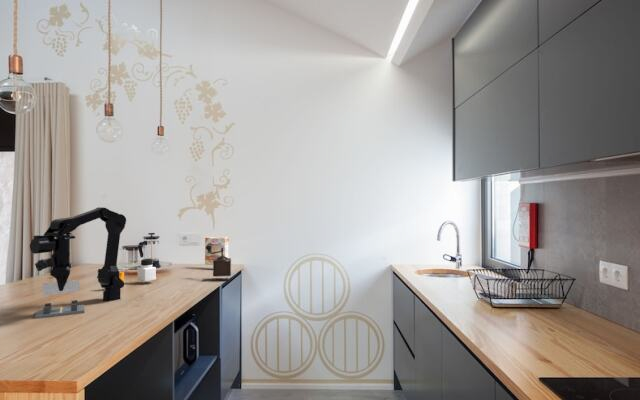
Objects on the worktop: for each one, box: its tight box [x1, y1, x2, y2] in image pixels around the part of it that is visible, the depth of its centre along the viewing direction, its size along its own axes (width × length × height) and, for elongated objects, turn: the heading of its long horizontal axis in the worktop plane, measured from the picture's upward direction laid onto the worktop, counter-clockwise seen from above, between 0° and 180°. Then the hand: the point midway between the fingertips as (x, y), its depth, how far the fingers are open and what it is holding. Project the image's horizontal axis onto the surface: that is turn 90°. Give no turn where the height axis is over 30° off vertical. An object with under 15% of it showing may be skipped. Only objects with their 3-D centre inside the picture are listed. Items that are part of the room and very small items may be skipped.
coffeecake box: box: [204, 236, 230, 266], centre depth 280 cm, size 15×7×20 cm, turn 81°
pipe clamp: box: [119, 271, 125, 283], centre depth 208 cm, size 12×4×6 cm, turn 173°
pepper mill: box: [206, 245, 232, 278], centre depth 240 cm, size 16×11×18 cm
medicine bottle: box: [137, 258, 157, 283], centre depth 224 cm, size 7×7×12 cm
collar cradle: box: [34, 299, 85, 320], centre depth 157 cm, size 16×10×4 cm, turn 121°
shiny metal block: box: [41, 279, 80, 296], centre depth 157 cm, size 12×4×4 cm, turn 128°
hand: (61, 289), depth 158 cm, fingers closed on shiny metal block, 4 cm apart
